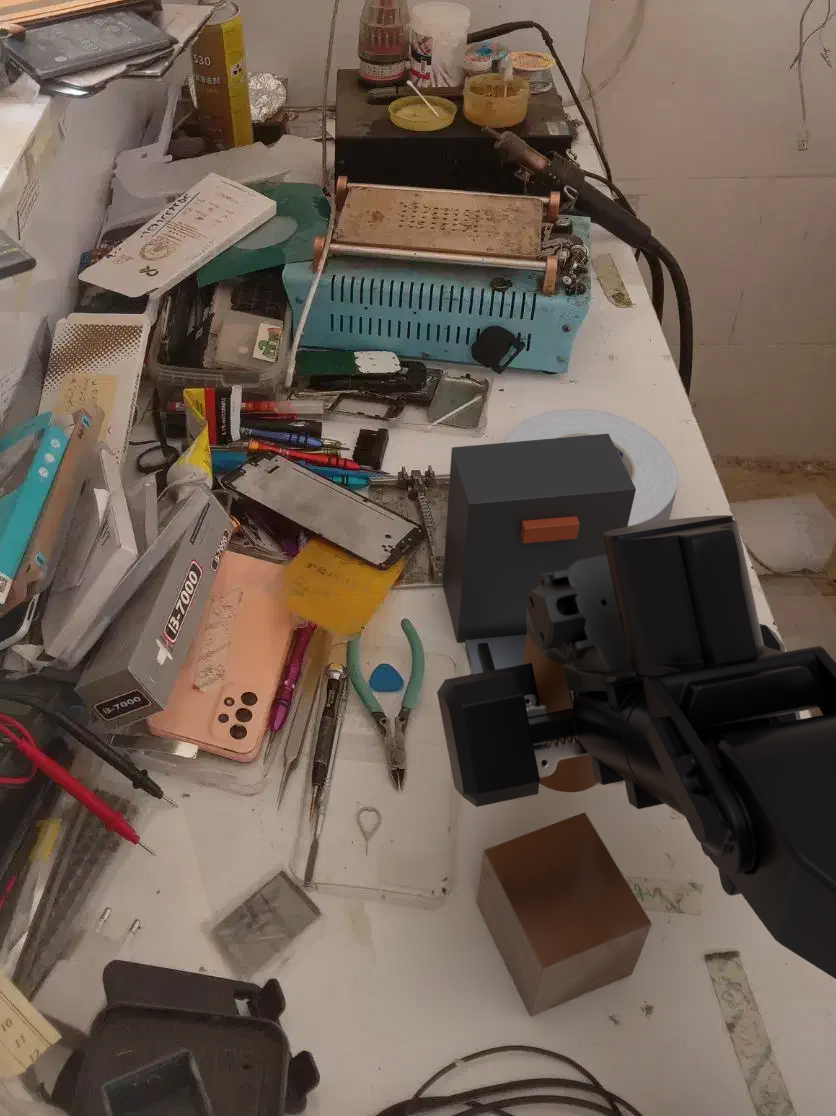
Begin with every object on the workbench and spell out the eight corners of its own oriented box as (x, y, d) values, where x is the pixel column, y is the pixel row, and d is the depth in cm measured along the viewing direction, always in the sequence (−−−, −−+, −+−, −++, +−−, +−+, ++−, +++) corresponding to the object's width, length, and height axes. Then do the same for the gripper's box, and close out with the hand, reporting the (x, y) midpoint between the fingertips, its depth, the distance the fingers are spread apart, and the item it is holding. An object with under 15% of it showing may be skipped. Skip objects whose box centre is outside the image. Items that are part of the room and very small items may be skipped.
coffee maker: (607, 637, 80) (640, 497, 70) (459, 651, 80) (471, 512, 70) (581, 572, 85) (608, 433, 76) (442, 584, 85) (451, 447, 75)
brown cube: (632, 974, 61) (652, 923, 57) (530, 1017, 59) (542, 968, 55) (571, 865, 66) (585, 811, 62) (475, 902, 65) (483, 849, 60)
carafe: (631, 784, 62) (666, 652, 54) (531, 805, 61) (553, 674, 53) (578, 678, 68) (603, 546, 60) (487, 696, 67) (501, 565, 59)
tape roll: (639, 593, 83) (649, 552, 80) (468, 527, 90) (472, 487, 87) (688, 479, 93) (699, 439, 90) (531, 428, 100) (536, 388, 97)
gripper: (828, 534, 48) (675, 528, 64) (457, 603, 46) (391, 579, 62) (884, 771, 47) (713, 705, 62) (504, 851, 45) (425, 763, 60)
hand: (561, 683), depth 62 cm, fingers closed on carafe, 6 cm apart
